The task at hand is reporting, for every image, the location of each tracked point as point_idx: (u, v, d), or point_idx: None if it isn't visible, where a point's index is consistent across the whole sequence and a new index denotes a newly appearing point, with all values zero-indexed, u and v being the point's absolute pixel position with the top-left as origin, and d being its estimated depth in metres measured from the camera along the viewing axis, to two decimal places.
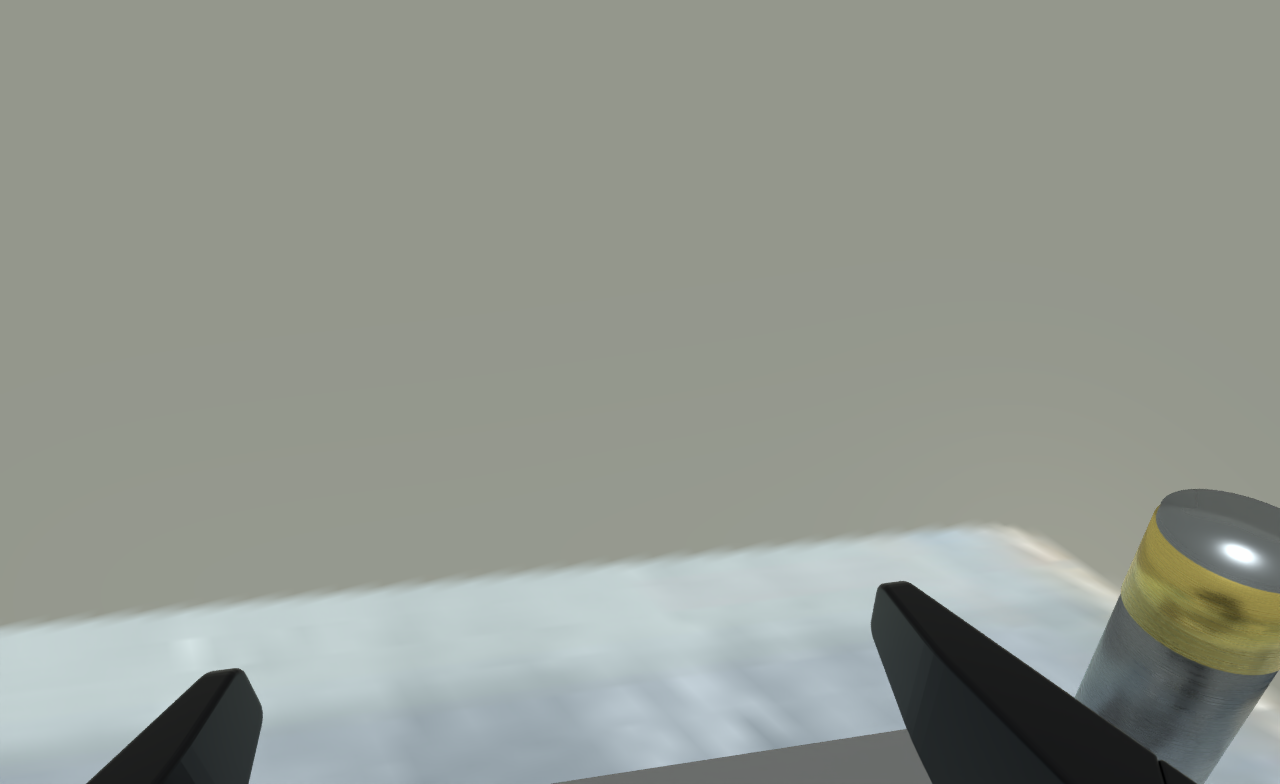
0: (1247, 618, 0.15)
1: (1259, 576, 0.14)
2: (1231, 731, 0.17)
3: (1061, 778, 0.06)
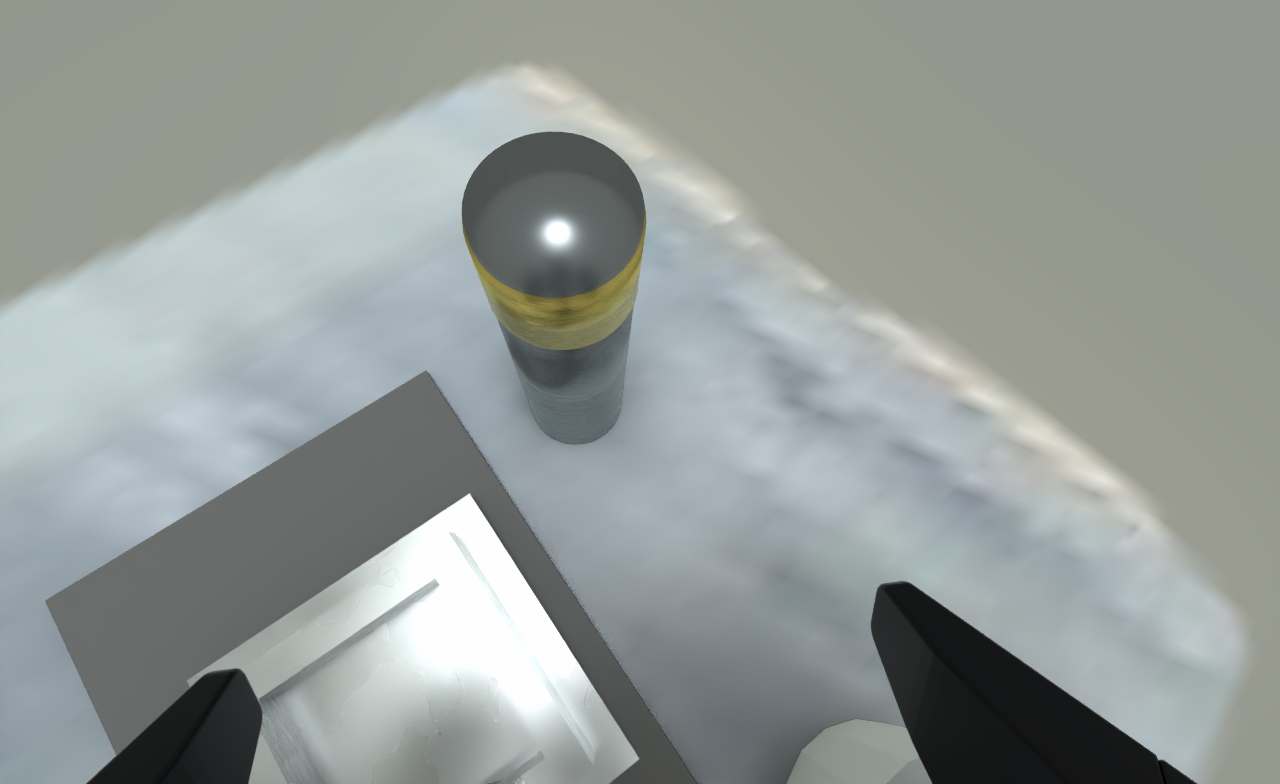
0: (557, 318, 0.13)
1: (545, 287, 0.12)
2: (610, 364, 0.17)
3: (1061, 778, 0.06)
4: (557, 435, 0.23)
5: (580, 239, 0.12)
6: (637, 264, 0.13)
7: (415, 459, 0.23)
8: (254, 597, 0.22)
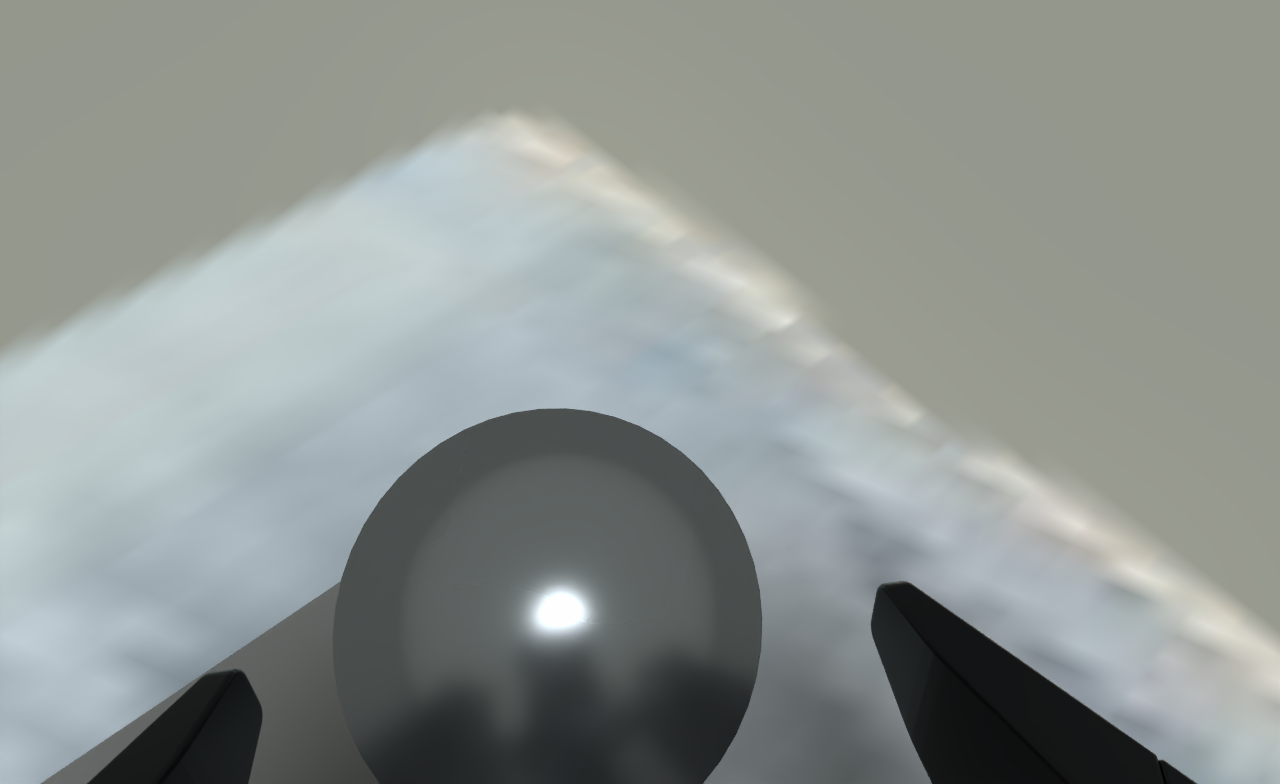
0: None
1: None
2: None
3: (1061, 778, 0.06)
4: None
5: (615, 701, 0.05)
6: None
7: None
8: None
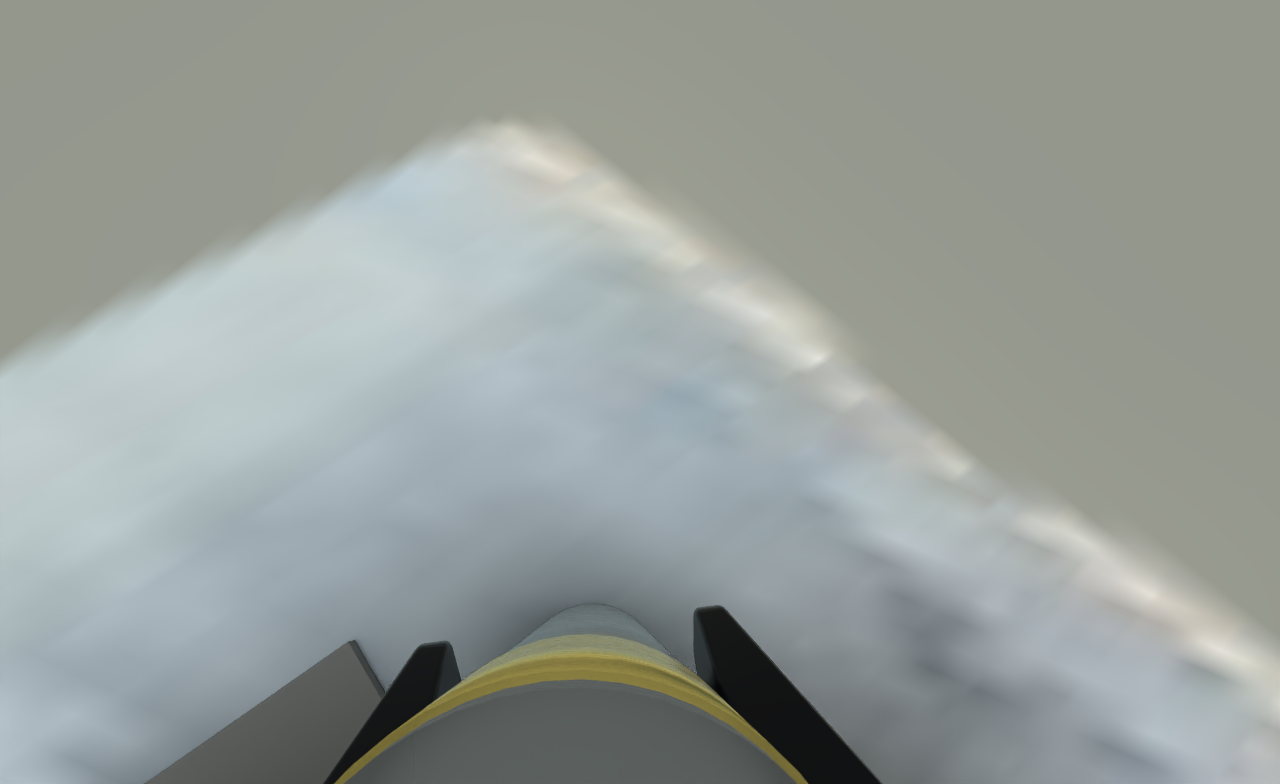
0: None
1: None
2: None
3: None
4: None
5: None
6: None
7: None
8: None
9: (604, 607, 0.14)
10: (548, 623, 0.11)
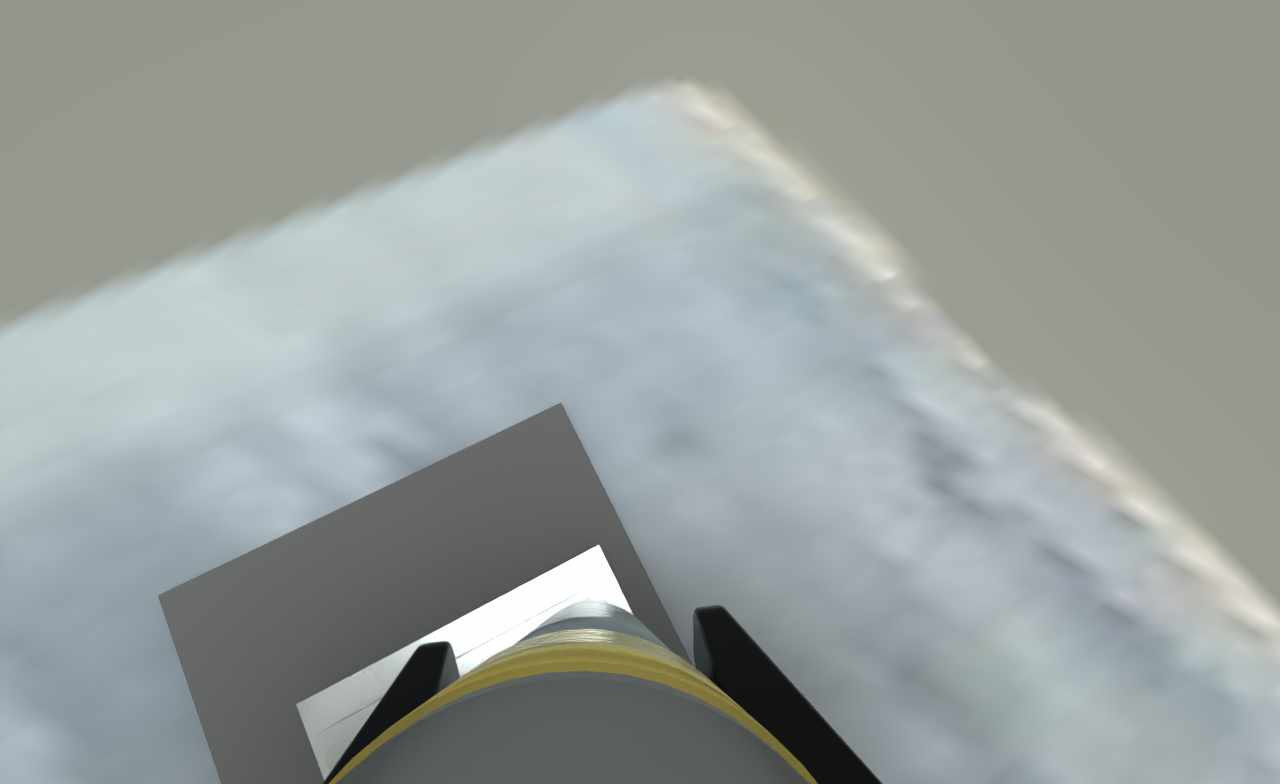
0: None
1: None
2: None
3: None
4: None
5: None
6: None
7: (542, 496, 0.22)
8: (367, 621, 0.21)
9: (605, 605, 0.14)
10: (549, 620, 0.11)
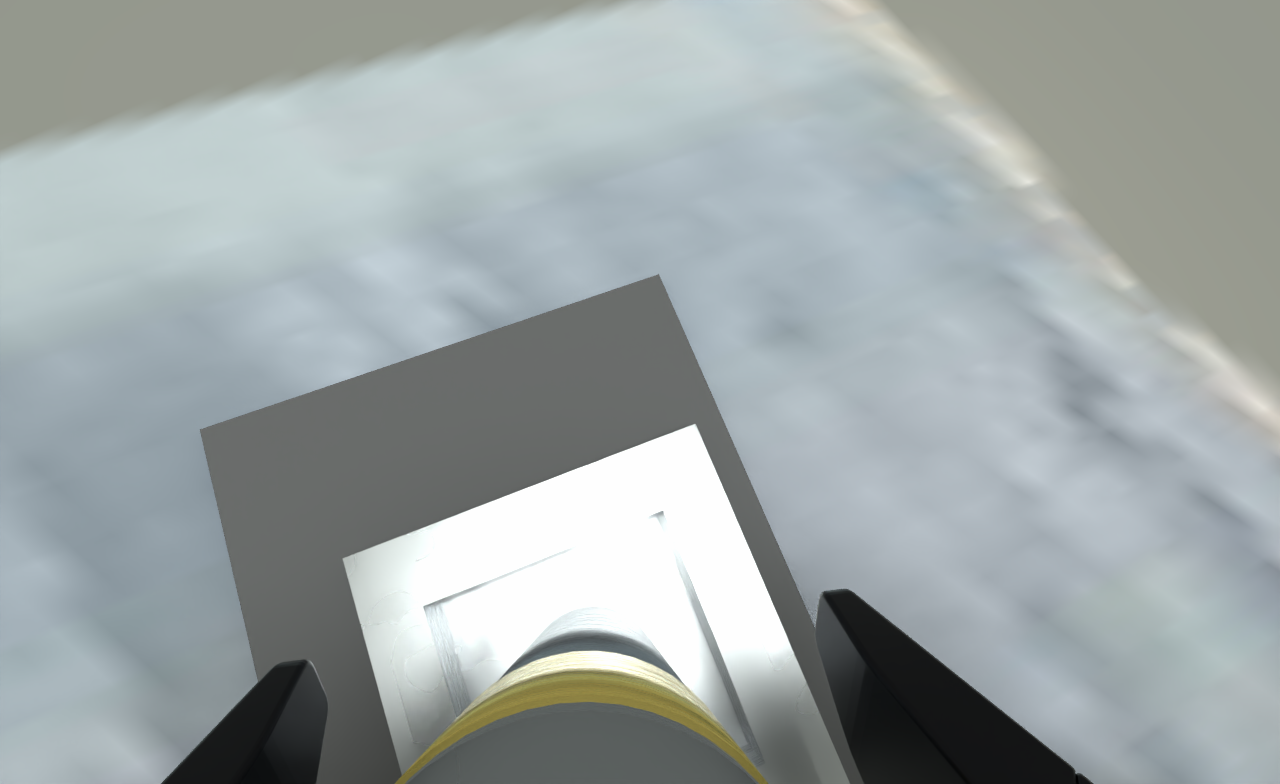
0: None
1: None
2: None
3: None
4: None
5: None
6: None
7: (631, 371, 0.20)
8: (426, 483, 0.18)
9: (605, 611, 0.15)
10: (553, 629, 0.12)
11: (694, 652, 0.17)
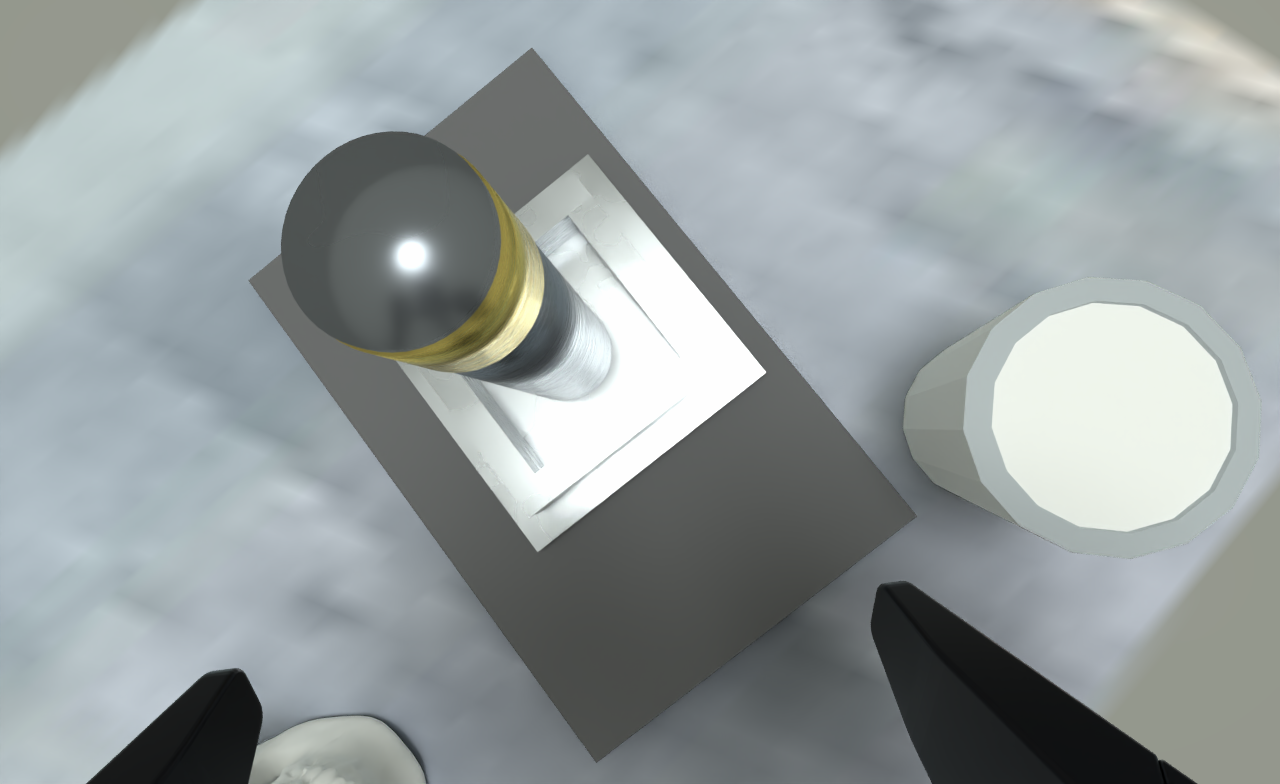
0: (448, 356, 0.11)
1: (408, 342, 0.10)
2: (557, 343, 0.15)
3: (1061, 778, 0.06)
4: (554, 399, 0.22)
5: (428, 268, 0.10)
6: (513, 262, 0.11)
7: (533, 133, 0.24)
8: None
9: None
10: None
11: (630, 315, 0.23)
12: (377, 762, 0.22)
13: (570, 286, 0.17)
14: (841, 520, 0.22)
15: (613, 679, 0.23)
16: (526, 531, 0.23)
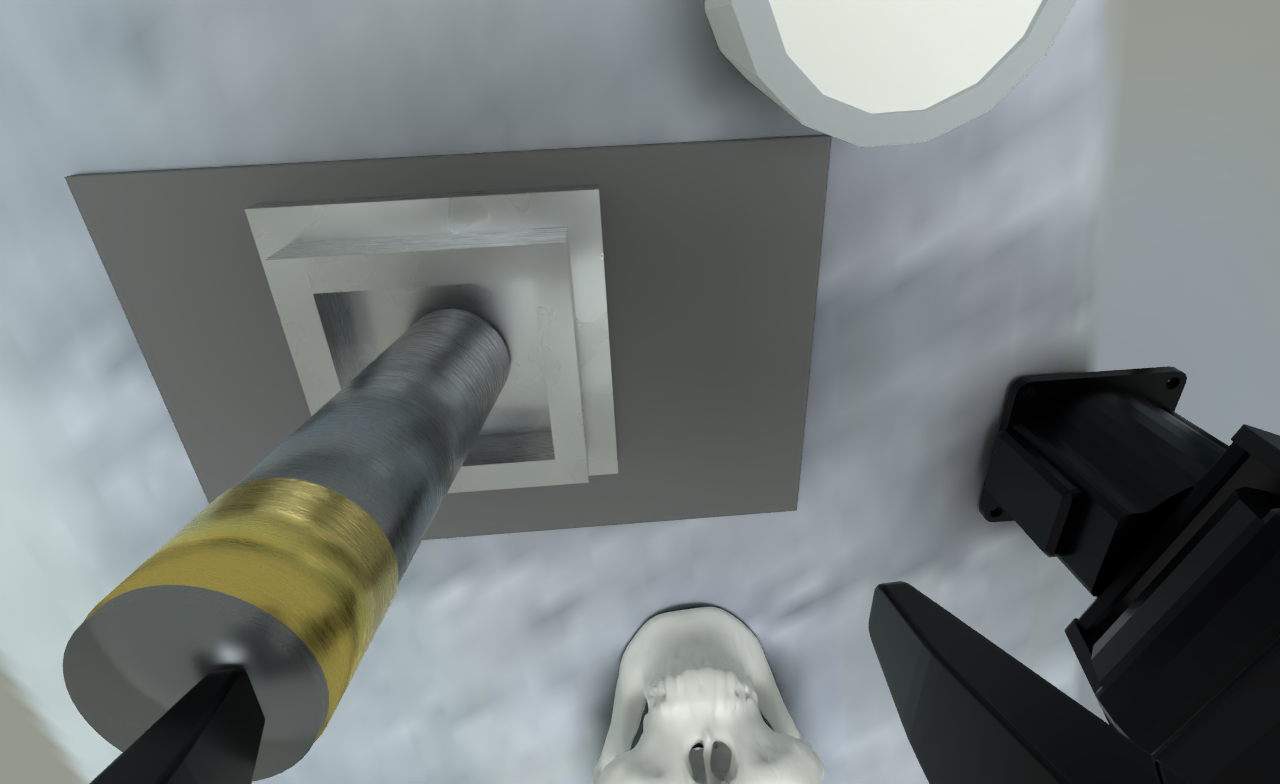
0: (356, 662, 0.10)
1: (313, 731, 0.09)
2: (423, 461, 0.13)
3: (1057, 779, 0.06)
4: None
5: None
6: (288, 581, 0.09)
7: (188, 241, 0.19)
8: (289, 427, 0.23)
9: None
10: None
11: None
12: (683, 637, 0.28)
13: (377, 388, 0.14)
14: (780, 210, 0.20)
15: (752, 468, 0.25)
16: (595, 472, 0.23)
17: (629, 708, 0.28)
